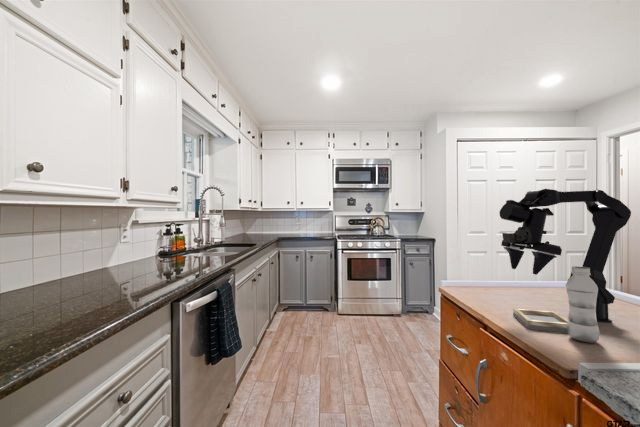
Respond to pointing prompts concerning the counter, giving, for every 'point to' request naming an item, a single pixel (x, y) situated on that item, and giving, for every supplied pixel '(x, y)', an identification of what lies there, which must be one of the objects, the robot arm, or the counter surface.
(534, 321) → the beige flat square frame
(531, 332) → the counter surface
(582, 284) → the plastic bottle
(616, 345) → the counter surface
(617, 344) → the counter surface
